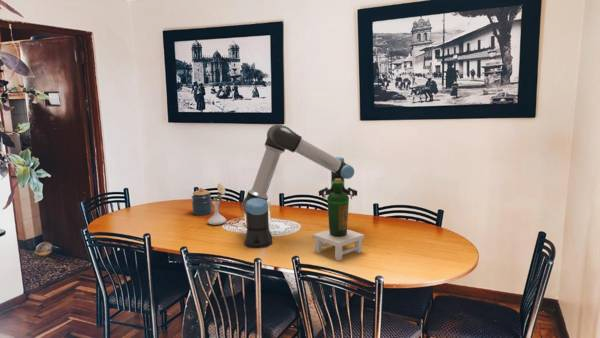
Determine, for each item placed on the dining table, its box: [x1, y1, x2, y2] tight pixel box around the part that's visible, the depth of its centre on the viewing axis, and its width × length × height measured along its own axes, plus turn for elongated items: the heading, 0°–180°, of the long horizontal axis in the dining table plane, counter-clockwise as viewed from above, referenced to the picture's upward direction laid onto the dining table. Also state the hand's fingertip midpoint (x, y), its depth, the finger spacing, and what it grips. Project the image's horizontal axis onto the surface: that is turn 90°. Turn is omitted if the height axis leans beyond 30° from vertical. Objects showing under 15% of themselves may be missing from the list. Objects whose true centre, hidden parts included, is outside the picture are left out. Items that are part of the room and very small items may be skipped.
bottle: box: [326, 178, 350, 237], centre depth 208 cm, size 11×11×28 cm
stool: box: [312, 229, 365, 261], centre depth 211 cm, size 18×18×9 cm
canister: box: [191, 187, 213, 217], centre depth 286 cm, size 13×13×18 cm
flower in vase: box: [207, 183, 227, 226], centre depth 262 cm, size 13×11×25 cm
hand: (338, 196), depth 216 cm, fingers open, 13 cm apart
